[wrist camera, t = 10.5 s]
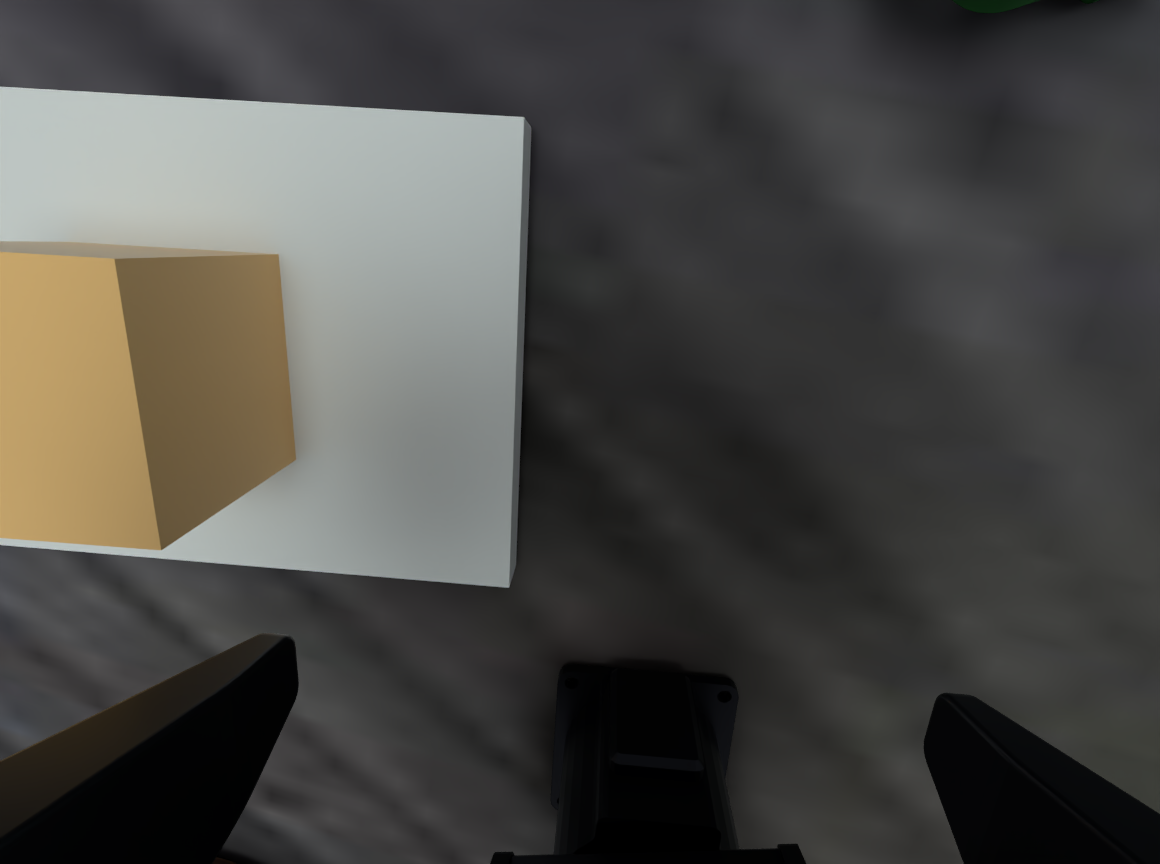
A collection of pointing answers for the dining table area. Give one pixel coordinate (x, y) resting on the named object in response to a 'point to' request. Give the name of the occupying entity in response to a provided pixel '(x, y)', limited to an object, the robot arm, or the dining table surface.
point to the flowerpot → (222, 861)
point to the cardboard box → (136, 389)
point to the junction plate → (325, 305)
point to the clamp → (997, 4)
